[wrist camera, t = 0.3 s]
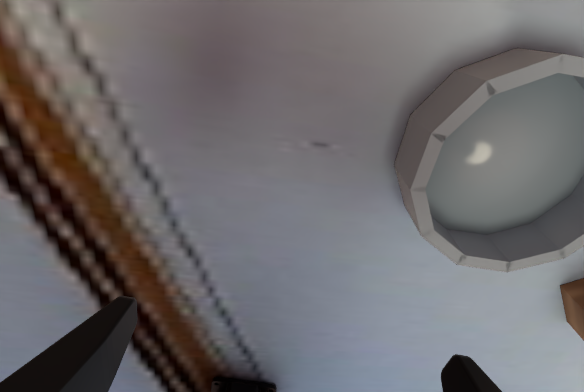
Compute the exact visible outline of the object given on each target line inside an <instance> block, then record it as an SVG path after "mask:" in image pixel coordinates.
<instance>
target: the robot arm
mask: <svg viewBox="0 0 584 392" xmlns="http://www.w3.org/2000/svg"><path fill="white" fill-rule="evenodd" d="M136 322H137V302H136V299H135V298H131V297H125V296H120V297H118V298H116V299H115V300H113V301H112V302H111V303H109V304H108V305H106V306H105V307H104V308H102V309H101V310H100V311H98V312H97V313H95V314H94V315H93V316H91V317H90V318H89V319H87V320H86V321H84V322H83V323H82V324H80V325H79V326H78V327H76V328H75V329H73V330H72V331H71V332H69V333H68V334H66V335H65V336H64V337H62V338H61V339H60V340H58V341H57V342H55V343H54V344H53V345H51V346H50V347H49V348H47V349H46V350H44V351H43V352H42V353H40V354H39V355H38V356H36V357H35V358H33V359H32V360H31V361H29V362H28V363H27V364H25V365H24V366H22V367H21V368H20V369H18V370H17V371H16V372H14V373H13V374H11V375H10V376H9V377H7V378H6V379H5V380H3V381H2V382H0V392H108V390H109V388H110V386H111V384H112V382H113V380H114V377H115V375H116V373H117V370H118V368H119V365H120V363H121V360H122V358H123V356H124V353H125V351H126V348H127V346H128V343H129V341H130V338H131V336H132V334H133V331H134V329H135V326H136ZM441 382H442V388H443V392H502V391H501V390H500V389H499V388H498V387H497V386H496V385H495V383H494V382H493V381H492V380H491V379H490V378H489V377H488V376H487V375H486V374H485V373H484V372H483V370H482V369H481V368H480V367H479V366H478V365H477V364H476V363H475V362H474V361H473V360H472V359H471V358H470V357H468V356H463V355H458V354H455V355H453V356H452V357H451V359H450V360H449V361H448V363H447V364H446V365H445V367H444V368H443V370H442V372H441ZM211 392H276V386H275V385H273V384H266V383H258V382H251V381H243V380H235V379H227V378H220V377H215V378H213V380H212V386H211Z"/></svg>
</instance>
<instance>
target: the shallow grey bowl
mask: <svg viewBox="0 0 584 392" xmlns="http://www.w3.org/2000/svg"><path fill="white" fill-rule="evenodd" d="M394 166H395V170H396V174H397V178H398V182H399V185H400V189H401V193H402V197H403V201H404V205H405V207H406V209H407V211H408V213H409V215H410V216H411V218H412V220H413V222H414V224H415V226H416V227H417V229H418V231H419V233H420V235H421V237H423V238H424V239H425V240H427V241H428V242H429V243H430V244H432V245H433V246H434V247H435V248H437V249H438V250H439V251H440V252H442V253H443V254H444V255H445V256H447V257H448V258H449V259H450V260H452V261H453V262H454V263H455V264H456V265H462V266H469V267H476V268H482V269H489V270H496V271H502V272H510V271H514V270H518V269H523V268H527V267H531V266H535V265H539V264H543V263H547V262H551V261H556V260H560V259H564V258H566V257H567V256H569V255H570V254H572V253H573V252H575V251H577V250H578V249H580V248H581V247H583V246H584V58H582V57H577V56H571V55H566V54H560V53H552V52H545V51H537V50H529V49H521V48H515V49H512V50H510V51H507V52H504V53H501V54H499V55H496V56H493V57H490V58H488V59H485V60H482V61H479V62H477V63H474V64H471V65H468V66H466V67H463V68H460V69H457V70H455V71H454V72H453V73H452V74H451V75H450V76H449V77H448V78H447V79H446V80H445V81H444V82H443V83H442V84H441V85H440V86H439V87H438V88H437V89H436V90H435V91H434V92H433V93H432V94H431V95H430V96H429V97H428V98H427V99H426V100H425V101H424V102H423V103H422V104H421V105H420V106H419V107H418V108H417V109H416V110H415V111H414V112H413V113H412V114H411V115H410V118H409V121H408V124H407V127H406V130H405V133H404V136H403V139H402V142H401V145H400V148H399V151H398V154H397V157H396V160H395V163H394Z"/></svg>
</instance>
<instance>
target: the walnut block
mask: <svg viewBox="0 0 584 392" xmlns="http://www.w3.org/2000/svg"><path fill="white" fill-rule="evenodd" d="M560 289H561V294H562V299H563V304H564V309H565V314H566V319H567V322H568V323H569V324H570V325H571V327H572V328H573V329H574V330H575V331H576V332H577V333H578V335H579V336H580V337H581V338H582V339H583V340H584V278H583V279H580V280H576V281H573V282H570V283H566V284H563V285H560Z"/></svg>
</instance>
